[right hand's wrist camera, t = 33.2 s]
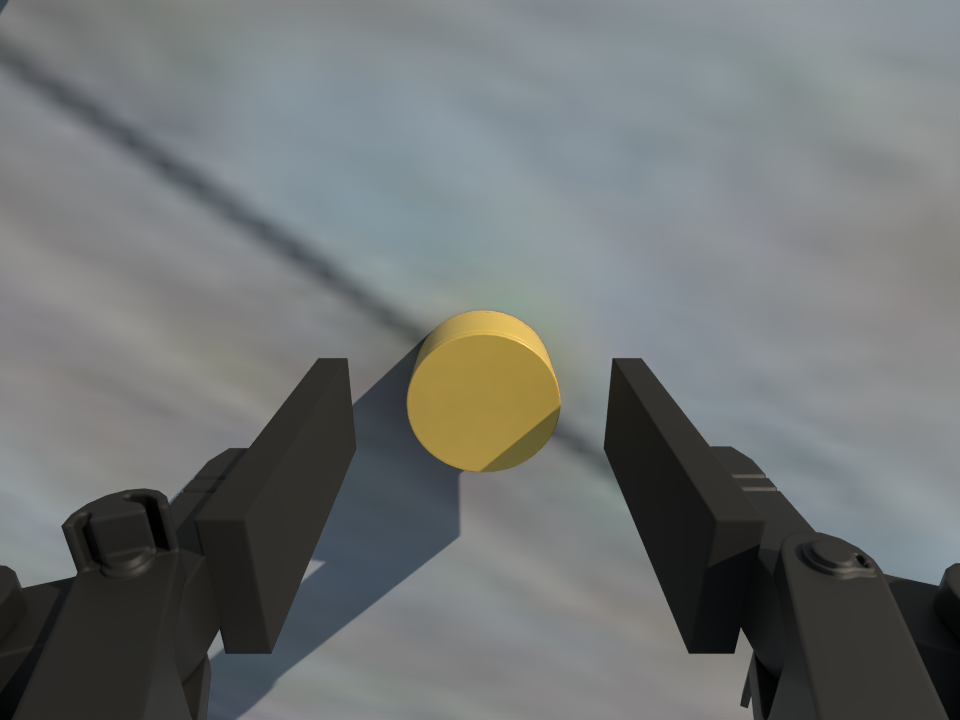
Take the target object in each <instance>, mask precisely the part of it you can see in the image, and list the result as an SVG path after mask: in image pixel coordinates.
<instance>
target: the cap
mask: <svg viewBox="0 0 960 720" xmlns="http://www.w3.org/2000/svg"><path fill="white" fill-rule="evenodd" d="M406 407H407V415H408V419H409V423H410V425H411V428H412V430H413V432H414V434H415V436H416V437H417V439H418V440H419V441H420V443H421V444H422V445H423V447H424V448H425V449H426V450H427V451H428V452H429V453H431V454H432V455H433V456H435V457H436V458H437V459H439V460H441V461H442V462H444V463H446V464H448V465H450V466H453V467H456V468H459V469H462V470H467V471H472V472H494V471H500V470H504V469H508V468H511V467H513V466H516V465H518V464H520V463H522V462H524V461H526V460H528V459H529V458H530V457H532V456H533V455H535V454H536V453H537V452H538V451H539V450H540V449H541V448H542V447H543V446H544V445H545V443H546V442H547V441H548V439H549V438H550V436H551V435H552V433H553V431H554V429H555V427H556V424H557V421H558V418H559V412H560V392H559V387H558V384H557V381H556V377H555V374H554V371H553V368H552V365H551V362H550V359H549V356H548V353H547V351H546V349H545V347H544V345H543V343H542V341H541V340H540V338H539V337H538V336H537V335H536V333H535V332H534V331H533V330H532V329H531V328H529V327H528V326H527V325H526V324H524V323H523V322H521V321H520V320H518V319H516V318H514V317H512V316H509V315H507V314H504V313H500V312H495V311H472V312H466V313H463V314H459V315H457V316H454V317H452V318H450V319H448V320H446V321H445V322H443V323H442V324H440V325H439V326H438V327H437V328H435V329H434V330H433V331H432V332H431V334H430V335H429V336H428V337H427V339H426V340H425V341H424V343H423V345H422V347H421V349H420V351H419V354H418V357H417V360H416V363H415V366H414V370H413V373H412V376H411V380H410V383H409V386H408V391H407V399H406Z"/></svg>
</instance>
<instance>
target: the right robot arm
mask: <svg viewBox="0 0 960 720" xmlns="http://www.w3.org/2000/svg"><path fill="white" fill-rule="evenodd" d="M355 450H356V441H355V431H354V420H353V410H352V400H351V390H350V380H349V370H348V359H347V358H318V360H317V361H316V362H315V364H314V365H313V366H312V367H311V369H310V370H309V371H308V373H307V374H306V375H305V376H304V378H303V379H302V380H301V382H300V383H299V384H298V385H297V387H296V388H295V389H294V391H293V392H292V393H291V395H290V396H289V397H288V398H287V400H286V401H285V402H284V404H283V405H282V406H281V407H280V409H279V410H278V411H277V413H276V414H275V415H274V416H273V418H272V419H271V420H270V422H269V423H268V424H267V425H266V427H265V428H264V429H263V431H262V432H261V433H260V434H259V436H258V437H257V438H256V440H255V441H254V442H253V444H252V445H251V446H250V447H249V448H229V449H227V450H226V451H224V452H223V453H221V454H219V455H218V456H216V457H215V458H213V459H211V460H210V461H208V462H207V463H206V465H205V466H204V467H203V468H202V469H201V470H200V471H199V473H198V474H197V475H196V476H195V480H192V481H191V482H190V483H189V484H188V485H187V486H186V488H185V489H184V492H183V493H180V494H179V496H178V497H177V498H176V499H175V500H174V501H173V502H172V504H171V505H170V506H169V503H168V500H167V496H165V495H164V494H162V493H161V492H160V491H157V490H151V489H133V490H125V491H121V492H117V493H114V494H110V495H106V496H104V497H102V498H100V499H97V500H95V501H93V502H90V503H88V504H86V505H85V506H83V507H82V508H80V509H79V510H77V511H76V512H74V513H73V514H71V516H70V517H69V518H68V519H67V520H66V521H65V522H64V524H63V525H62V526H61V527H62V529H63V532H64V535H65V538H66V541H67V544H68V546H69V549H70V552H71V555H72V558H73V561H74V563H75V566H76V569H77V572H78V573H77V575H76V576H75V577H72V578H67V579H63V580H58V581H54V582H49V583H44V584H40V585H35V586H30V587H26V588H22V587H21V585H20V582H19V580H18V578H17V575H16V573H15V571H13V570H12V569H10V568H9V567H7V566H0V720H206V717H207V708H208V699H209V689H210V680H211V668H210V662H209V658H208V654H207V651H208V649H209V647H210V645H211V644H212V642H213V640H214V638H215V636H216V634H217V633H218V631H219V629H220V632H221V636H222V640H223V644H224V648H225V653H226V654H271V653H272V650H273V648H274V646H275V643H276V641H277V638H278V636H279V633H280V631H281V629H282V626H283V624H284V621H285V619H286V617H287V614H288V612H289V609H290V607H291V605H292V602H293V600H294V597H295V595H296V592H297V590H298V588H299V585H300V583H301V580H302V578H303V576H304V573H305V571H306V568H307V566H308V564H309V561H310V559H311V556H312V554H313V552H314V549H315V547H316V544H317V542H318V539H319V537H320V535H321V532H322V530H323V527H324V525H325V523H326V520H327V518H328V515H329V513H330V511H331V508H332V506H333V503H334V501H335V498H336V496H337V494H338V491H339V489H340V486H341V484H342V482H343V479H344V477H345V474H346V472H347V470H348V467H349V465H350V462H351V460H352V457H353V455H354V453H355ZM604 450H605V453H606V455H607V457H608V460H609V462H610V465H611V467H612V470H613V472H614V474H615V477H616V479H617V482H618V484H619V486H620V489H621V491H622V494H623V496H624V498H625V501H626V503H627V506H628V508H629V511H630V513H631V515H632V518H633V520H634V523H635V525H636V527H637V530H638V532H639V535H640V537H641V539H642V542H643V544H644V547H645V549H646V551H647V554H648V556H649V559H650V561H651V564H652V566H653V568H654V571H655V573H656V576H657V578H658V580H659V583H660V585H661V588H662V590H663V592H664V595H665V597H666V600H667V602H668V605H669V607H670V609H671V612H672V614H673V617H674V619H675V621H676V624H677V626H678V629H679V631H680V633H681V636H682V638H683V641H684V643H685V645H686V648H687V650H688V653H689V654H734V653H735V648H736V644H737V640H738V636H739V632H740V628H742V630H743V632H744V634H745V635H746V637H747V639H748V641H749V643H750V644H751V646H752V648H753V654H752V658H751V662H750V666H749V670H748V674H747V678H746V681H745V685H744V689H743V693H742V698H741V704H740V706H742V707H746V708H748V705H749V702H750V698H751V697H752V706H753V716H754V720H960V563H955V564H953V565H952V566H950V567H949V568H947V569H946V570H945V573H944V575H943V578H942V580H941V582H940V585H939V586H936V585H931V584H927V583H922V582H917V581H913V580H908V579H903V578H899V577H894V576H890V575H886V574H883V572H882V570H881V569H880V568H879V566H878V565H877V564H876V562H875V561H874V560H873V559H872V558H871V557H870V556H868V555H867V554H866V553H865V552H863V551H862V550H861V549H859V548H858V547H856V546H854V545H852V544H850V543H848V542H846V541H844V540H842V539H840V538H837V537H833V536H830V535H827V534H823V533H818V532H815V531H814V529H813V528H812V527H811V526H810V525H809V524H808V523H807V522H806V520H805V519H804V518H803V517H802V516H801V515H800V514H799V512H798V511H797V510H796V509H795V508H794V507H793V506H792V504H791V503H790V502H789V501H788V500H787V499H786V498H785V497H784V495H783V494H782V493H781V492H780V491H777V487H776V486H775V485H774V484H773V483H772V482H771V481H770V479H769V478H766V475H765V474H764V473H763V471H762V470H761V469H760V468H759V467H758V466H757V465H756V464H755V462H754V461H753V460H752V459H750V458H749V457H747V456H745V455H744V454H742V453H740V452H739V451H737V450H736V449H734V448H732V447H710V446H709V445H708V444H707V442H706V441H705V440H704V438H703V437H702V436H701V434H700V433H699V432H698V431H697V429H696V428H695V427H694V425H693V424H692V423H691V422H690V420H689V419H688V418H687V416H686V415H685V414H684V413H683V411H682V410H681V409H680V407H679V406H678V405H677V404H676V402H675V401H674V400H673V398H672V397H671V396H670V395H669V393H668V392H667V391H666V389H665V388H664V387H663V385H662V384H661V383H660V382H659V380H658V379H657V378H656V376H655V375H654V374H653V373H652V371H651V370H650V369H649V367H648V366H647V365H646V364H645V362H644V361H643V360H642V358H613V359H612V370H611V380H610V390H609V400H608V410H607V421H606V431H605V441H604Z"/></svg>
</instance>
